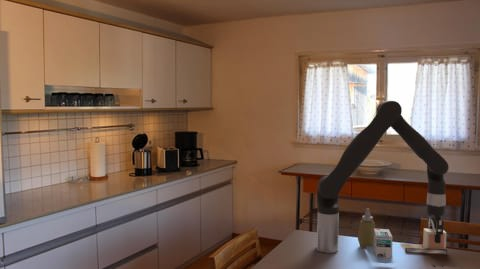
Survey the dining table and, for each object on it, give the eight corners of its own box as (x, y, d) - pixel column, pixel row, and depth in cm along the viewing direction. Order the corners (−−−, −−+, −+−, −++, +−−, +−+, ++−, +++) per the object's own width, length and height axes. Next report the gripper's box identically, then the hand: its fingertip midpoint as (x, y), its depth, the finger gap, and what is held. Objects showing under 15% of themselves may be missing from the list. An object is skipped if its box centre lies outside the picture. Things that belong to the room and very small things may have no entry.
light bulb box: (392, 261, 181) (393, 236, 180) (375, 260, 182) (376, 235, 181) (388, 252, 191) (389, 228, 190) (373, 251, 193) (373, 228, 192)
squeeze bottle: (378, 246, 199) (379, 208, 198) (373, 251, 193) (374, 211, 191) (360, 243, 204) (361, 205, 202) (355, 248, 197) (356, 209, 196)
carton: (422, 248, 193) (423, 228, 192) (441, 249, 192) (442, 229, 191) (426, 252, 188) (426, 231, 187) (445, 253, 186) (446, 232, 186)
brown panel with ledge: (405, 256, 187) (405, 248, 187) (399, 246, 199) (399, 239, 199) (447, 258, 185) (447, 250, 184) (438, 248, 197) (438, 241, 196)
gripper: (422, 199, 195) (421, 234, 197) (431, 206, 181) (430, 244, 183) (440, 199, 194) (438, 235, 196) (450, 207, 180) (449, 245, 182)
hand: (434, 239), depth 189 cm, fingers open, 8 cm apart
